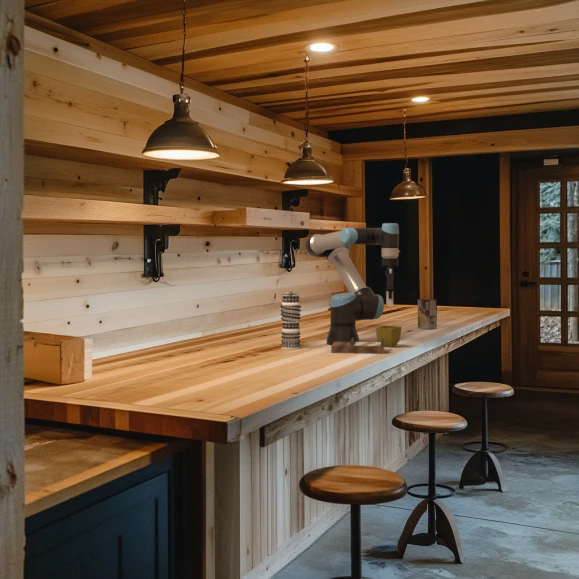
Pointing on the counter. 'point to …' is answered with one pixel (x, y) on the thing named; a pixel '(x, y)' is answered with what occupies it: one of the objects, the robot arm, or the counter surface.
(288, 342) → the decorative candle
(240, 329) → the counter surface
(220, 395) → the counter surface
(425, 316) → the coffee box
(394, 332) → the flower pot
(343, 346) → the dock
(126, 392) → the counter surface
